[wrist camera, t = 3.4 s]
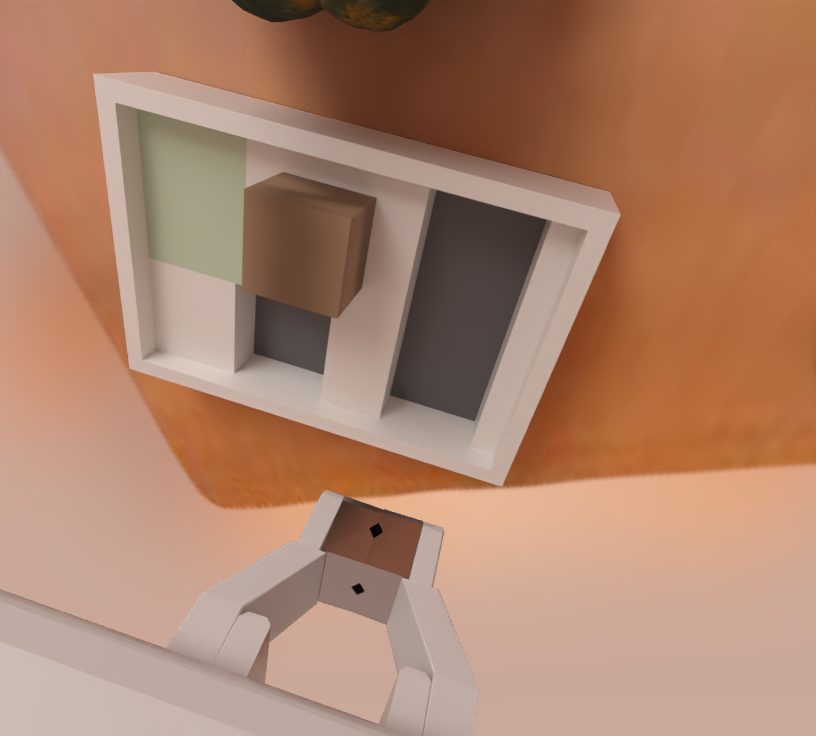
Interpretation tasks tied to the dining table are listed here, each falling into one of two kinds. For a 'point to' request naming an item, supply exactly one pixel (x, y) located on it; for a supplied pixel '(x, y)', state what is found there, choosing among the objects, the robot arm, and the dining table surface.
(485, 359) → the track
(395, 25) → the squash
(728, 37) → the dining table surface
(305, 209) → the walnut block
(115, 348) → the dining table surface
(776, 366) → the dining table surface
